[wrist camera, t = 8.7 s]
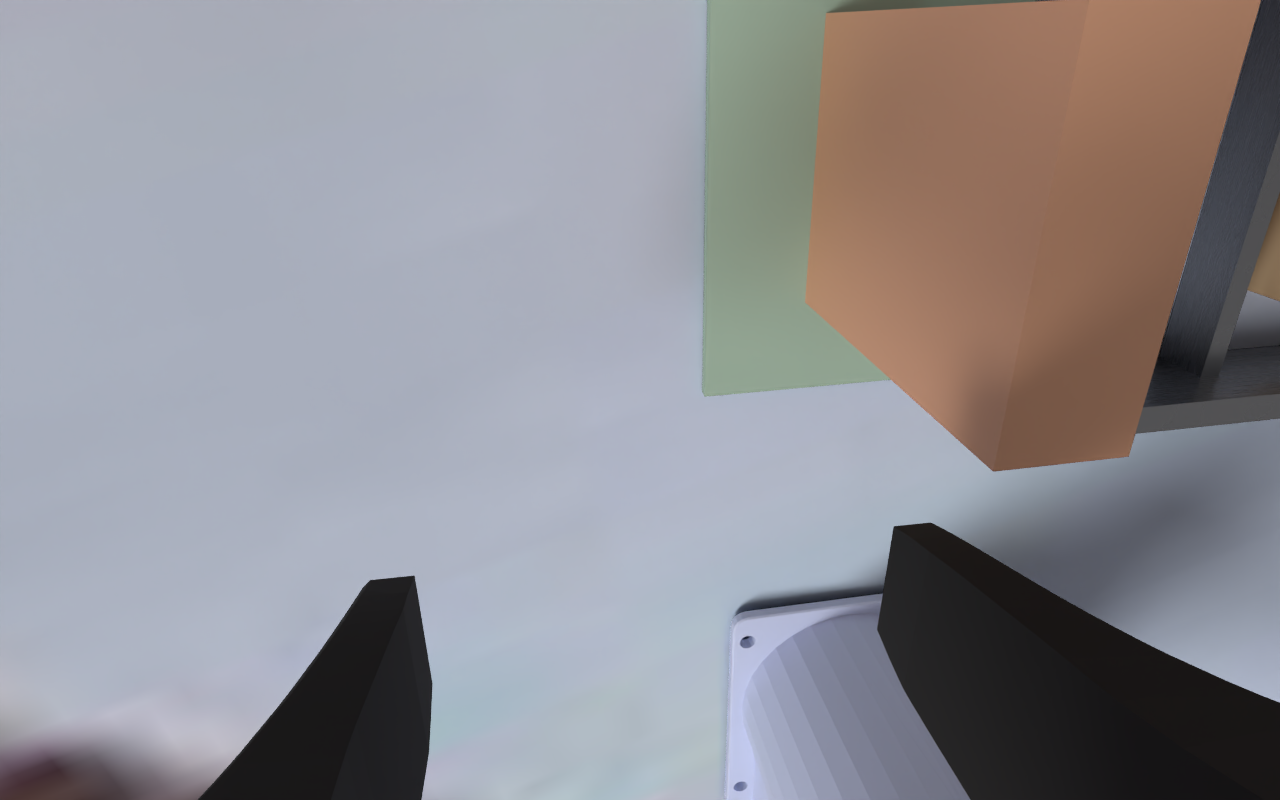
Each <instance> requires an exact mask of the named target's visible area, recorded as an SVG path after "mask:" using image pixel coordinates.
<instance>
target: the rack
mask: <svg viewBox="0 0 1280 800" xmlns="http://www.w3.org/2000/svg"><path fill="white" fill-rule="evenodd" d="M1279 193H1280V0H1263V2H1262V5H1261V9H1260V12H1259V16H1258V19H1257V22H1256V26H1255V29H1254V33H1253V36H1252V40H1251V43H1250V46H1249V50H1248V53H1247V57H1246V60H1245V64H1244V67H1243V70H1242V74H1241V77H1240V81H1239V84H1238V88H1237V91H1236V94H1235V98H1234V101H1233V105H1232V108H1231V112H1230V115H1229V118H1228V122H1227V125H1226V129H1225V132H1224V136H1223V139H1222V142H1221V146H1220V149H1219V153H1218V156H1217V160H1216V163H1215V166H1214V170H1213V173H1212V177H1211V180H1210V184H1209V187H1208V190H1207V194H1206V197H1205V201H1204V204H1203V208H1202V211H1201V214H1200V218H1199V221H1198V225H1197V228H1196V232H1195V235H1194V238H1193V242H1192V245H1191V249H1190V252H1189V256H1188V259H1187V262H1186V266H1185V269H1184V273H1183V276H1182V280H1181V283H1180V286H1179V290H1178V293H1177V297H1176V300H1175V304H1174V307H1173V310H1172V314H1171V317H1170V321H1169V324H1168V328H1167V331H1166V334H1165V338H1164V341H1163V345H1162V348H1161V352H1160V355H1159V357H1157V361H1156V364H1155V367H1154V371H1153V374H1152V378H1151V381H1150V385H1149V388H1148V392H1147V395H1146V398H1145V402H1144V405H1143V409H1142V412H1141V416H1140V419H1139V423H1138V426H1137V429H1136V433H1135V434H1137V433H1147V432H1156V431H1166V430H1175V429H1185V428H1194V427H1203V426H1213V425H1222V424H1232V423H1241V422H1251V421H1260V420H1270V419H1279V418H1280V346H1270V347H1259V348H1248V349H1237V350H1228V347H1229V344H1230V341H1231V338H1232V335H1233V332H1234V329H1235V326H1236V323H1237V320H1238V317H1239V314H1240V311H1241V307H1242V304H1243V301H1244V298H1245V295H1246V292H1247V289H1248V286H1249V283H1250V280H1251V277H1252V274H1253V271H1254V268H1255V265H1256V262H1257V259H1258V256H1259V253H1260V250H1261V247H1262V244H1263V241H1264V238H1265V235H1266V232H1267V229H1268V226H1269V223H1270V220H1271V217H1272V214H1273V211H1274V208H1275V205H1276V202H1277V199H1278V196H1279Z"/></svg>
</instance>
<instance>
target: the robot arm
mask: <svg viewBox="0 0 1280 800" xmlns="http://www.w3.org/2000/svg"><path fill="white" fill-rule="evenodd" d="M746 636H750V637H749V638H748V639H745V640H741V639H742V638H744V637H746ZM431 701H432V679H431V673H430V667H429V661H428V655H427V649H426V643H425V637H424V631H423V625H422V618H421V612H420V606H419V600H418V594H417V588H416V582H415V576H407V577H397V578H388V579H378V580H370V581H369V582H368V583H367V584H366V585H365V586H364V587H363V588H362V590H361V591H360V593H359V595H358V596H357V598H356V599H355V601H354V602H353V604H352V605H351V607H350V608H349V610H348V611H347V613H346V614H345V616H344V617H343V619H342V620H341V622H340V623H339V625H338V626H337V628H336V629H335V630H334V632H333V633H332V635H331V636H330V638H329V639H328V640H327V642H326V643H325V645H324V646H323V648H322V649H321V650H320V652H319V653H318V655H317V656H316V657H315V659H314V660H313V661H312V663H311V664H310V665H309V667H308V668H307V669H306V671H305V672H304V673H303V675H302V676H301V677H300V679H299V680H298V682H297V683H296V684H295V686H294V687H293V688H292V690H291V691H290V692H289V694H288V695H287V696H286V697H285V699H284V700H283V701H282V703H281V704H280V705H279V706H278V708H277V709H276V710H275V711H274V712H273V714H272V715H271V716H270V717H269V718H268V720H267V721H266V722H265V723H264V725H263V726H262V727H261V728H260V729H259V731H258V732H257V733H256V734H255V735H254V737H253V738H252V739H251V740H250V741H249V743H248V744H247V745H246V746H245V748H244V749H243V750H242V751H241V752H240V754H239V755H238V756H237V757H236V758H235V759H234V760H233V762H232V763H231V764H230V765H229V766H228V767H227V768H226V769H225V770H224V772H223V773H222V774H221V775H220V776H219V777H218V778H217V779H216V781H215V782H214V783H213V784H212V785H211V786H210V787H209V788H208V789H207V790H206V791H205V792H204V794H203V795H202V796H201V797H200V798H199V799H198V800H421V798H422V792H423V786H424V780H425V773H426V767H427V761H428V754H429V740H430V723H431ZM724 799H725V800H1280V703H1279V702H1276V701H1274V700H1271V699H1269V698H1266V697H1264V696H1261V695H1259V694H1256V693H1254V692H1251V691H1249V690H1247V689H1244V688H1242V687H1239V686H1237V685H1235V684H1232V683H1230V682H1228V681H1225V680H1223V679H1221V678H1219V677H1217V676H1214V675H1212V674H1210V673H1208V672H1206V671H1203V670H1201V669H1199V668H1197V667H1195V666H1192V665H1190V664H1188V663H1186V662H1184V661H1181V660H1179V659H1177V658H1175V657H1173V656H1170V655H1168V654H1166V653H1164V652H1162V651H1160V650H1158V649H1156V648H1154V647H1152V646H1150V645H1148V644H1146V643H1144V642H1142V641H1140V640H1138V639H1136V638H1134V637H1132V636H1130V635H1129V634H1127V633H1125V632H1123V631H1121V630H1119V629H1117V628H1115V627H1113V626H1111V625H1109V624H1108V623H1106V622H1104V621H1102V620H1100V619H1098V618H1096V617H1094V616H1093V615H1091V614H1089V613H1087V612H1085V611H1084V610H1082V609H1080V608H1078V607H1076V606H1075V605H1073V604H1071V603H1069V602H1067V601H1066V600H1064V599H1062V598H1060V597H1059V596H1057V595H1055V594H1053V593H1052V592H1050V591H1048V590H1047V589H1045V588H1043V587H1041V586H1040V585H1038V584H1036V583H1035V582H1033V581H1031V580H1029V579H1028V578H1026V577H1024V576H1023V575H1021V574H1019V573H1018V572H1016V571H1014V570H1013V569H1011V568H1009V567H1008V566H1006V565H1004V564H1003V563H1001V562H999V561H998V560H996V559H994V558H993V557H991V556H989V555H988V554H986V553H984V552H982V551H981V550H979V549H977V548H976V547H974V546H972V545H971V544H969V543H967V542H965V541H964V540H962V539H960V538H959V537H957V536H955V535H953V534H952V533H950V532H948V531H946V530H944V529H942V528H940V527H938V526H936V525H935V524H933V523H923V524H913V525H903V526H894V529H893V535H892V541H891V547H890V553H889V559H888V565H887V571H886V577H885V583H884V590H883V594H875V595H868V596H860V597H852V598H844V599H837V600H829V601H821V602H814V603H806V604H798V605H791V606H783V607H775V608H768V609H760V610H752V611H745V612H742V613H739V614H738V615H736V616H735V617H734V618H733V620H732V622H731V627H730V655H729V683H728V711H727V739H726V767H725V795H724Z"/></svg>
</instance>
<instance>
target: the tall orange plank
mask: <svg viewBox="0 0 1280 800" xmlns="http://www.w3.org/2000/svg"><path fill="white" fill-rule="evenodd" d="M1260 2H1261V0H1055V1H1037V2H1019V3H1001V4H983V5H965V6H947V7H928V8H910V9H892V10H874V11H856V12H838V13H826V19H825V33H824V47H823V61H822V74H821V88H820V102H819V116H818V130H817V144H816V157H815V171H814V185H813V199H812V213H811V227H810V240H809V254H808V268H807V282H806V296H805V303H806V304H807V305H809V306H810V307H811V308H812V309H813V310H814V311H815V312H816V313H817V314H819V315H820V316H821V317H822V318H823V319H824V320H825V321H826V322H827V323H829V324H830V325H831V326H832V327H833V328H834V329H835V330H836V331H837V332H839V333H840V334H841V335H842V336H843V337H844V338H845V339H846V340H848V341H849V342H850V343H851V344H852V345H853V346H854V347H855V348H856V349H858V350H859V351H860V352H861V353H862V354H863V355H864V356H865V357H866V358H868V359H869V360H870V361H871V362H872V363H873V364H874V365H875V366H876V367H878V368H879V369H880V370H881V371H882V372H883V373H884V374H885V375H886V376H888V377H889V378H890V379H891V380H892V381H893V382H894V383H895V384H896V385H898V386H899V387H900V388H901V389H902V390H903V391H904V392H905V393H906V394H908V395H909V396H910V397H911V398H912V399H913V400H914V401H915V402H916V403H918V404H919V405H920V406H921V407H922V408H923V409H924V410H925V411H926V412H928V413H929V414H930V415H931V416H932V417H933V418H934V419H935V420H936V421H938V422H939V423H940V424H941V425H942V426H943V427H944V428H945V429H946V430H948V431H949V432H950V433H951V434H952V435H953V436H954V437H955V438H956V439H958V440H959V441H960V442H961V443H962V444H963V445H964V446H965V447H967V448H968V449H969V450H970V451H971V452H972V453H973V454H974V455H975V456H977V457H978V458H979V459H980V460H981V461H982V462H983V463H984V464H985V465H987V466H988V467H989V468H990V469H991V470H992V471H1002V470H1011V469H1020V468H1030V467H1039V466H1048V465H1057V464H1066V463H1075V462H1084V461H1093V460H1102V459H1111V458H1120V457H1129V454H1130V450H1131V447H1132V443H1133V440H1134V436H1135V433H1136V429H1137V426H1138V423H1139V419H1140V416H1141V412H1142V409H1143V405H1144V402H1145V398H1146V395H1147V392H1148V388H1149V385H1150V381H1151V378H1152V374H1153V371H1154V367H1155V364H1156V361H1157V357H1158V354H1159V350H1160V347H1161V343H1162V340H1163V336H1164V333H1165V330H1166V326H1167V323H1168V319H1169V316H1170V312H1171V309H1172V305H1173V302H1174V298H1175V295H1176V292H1177V288H1178V285H1179V281H1180V278H1181V274H1182V271H1183V267H1184V264H1185V261H1186V257H1187V254H1188V250H1189V247H1190V243H1191V240H1192V236H1193V233H1194V230H1195V226H1196V223H1197V219H1198V216H1199V212H1200V209H1201V205H1202V202H1203V199H1204V195H1205V192H1206V188H1207V185H1208V181H1209V178H1210V174H1211V171H1212V167H1213V164H1214V161H1215V157H1216V154H1217V150H1218V147H1219V143H1220V140H1221V136H1222V133H1223V130H1224V126H1225V123H1226V119H1227V116H1228V112H1229V109H1230V105H1231V102H1232V99H1233V95H1234V92H1235V88H1236V85H1237V81H1238V78H1239V74H1240V71H1241V67H1242V64H1243V61H1244V57H1245V54H1246V50H1247V47H1248V43H1249V40H1250V36H1251V33H1252V30H1253V26H1254V23H1255V19H1256V16H1257V12H1258V9H1259V5H1260Z"/></svg>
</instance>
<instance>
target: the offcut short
mask: <svg viewBox="0 0 1280 800" xmlns="http://www.w3.org/2000/svg"><path fill="white" fill-rule="evenodd" d="M1247 290H1249V291H1252V292H1255V293H1258V294H1260V295H1263V296H1266V297H1269V298H1272V299H1275V300H1278V301H1280V193H1279V196H1278V199H1277V202H1276V205H1275V208H1274V211H1273V214H1272V217H1271V220H1270V223H1269V226H1268V229H1267V232H1266V235H1265V238H1264V241H1263V244H1262V247H1261V250H1260V253H1259V256H1258V259H1257V262H1256V265H1255V268H1254V271H1253V274H1252V277H1251V280H1250V283H1249V286H1248V289H1247Z"/></svg>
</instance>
